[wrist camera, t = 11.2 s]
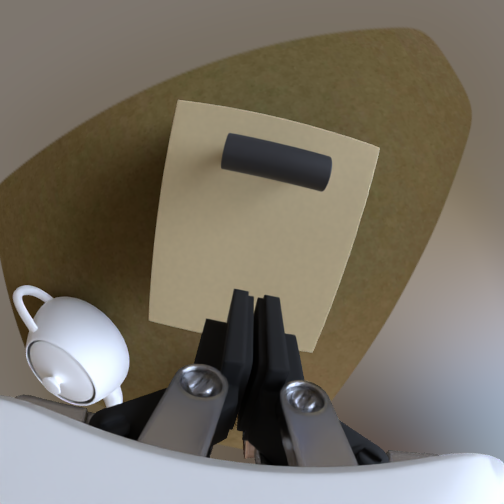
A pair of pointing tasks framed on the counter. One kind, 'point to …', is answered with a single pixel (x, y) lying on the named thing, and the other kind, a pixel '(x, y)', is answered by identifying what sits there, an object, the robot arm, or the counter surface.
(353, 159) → the lid
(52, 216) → the counter surface
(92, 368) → the teapot
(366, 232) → the counter surface
